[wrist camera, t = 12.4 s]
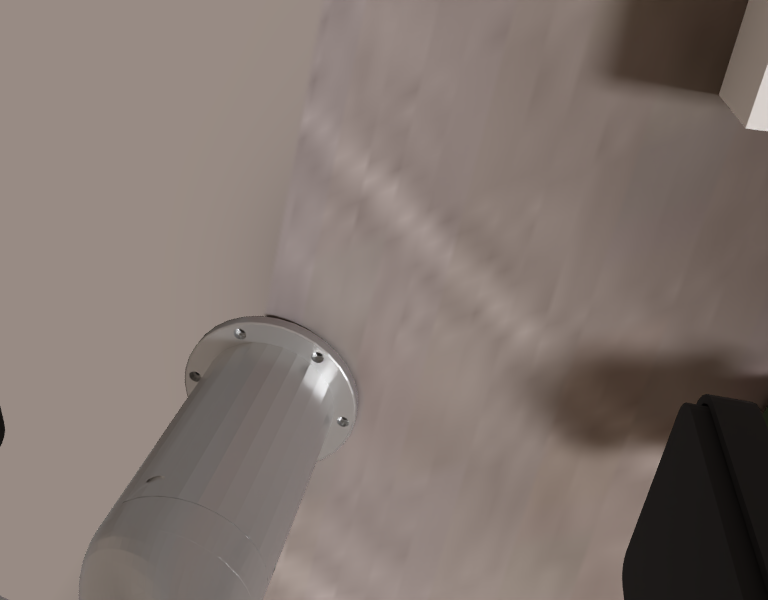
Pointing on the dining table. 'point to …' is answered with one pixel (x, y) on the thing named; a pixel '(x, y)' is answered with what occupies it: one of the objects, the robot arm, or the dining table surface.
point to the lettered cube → (749, 69)
